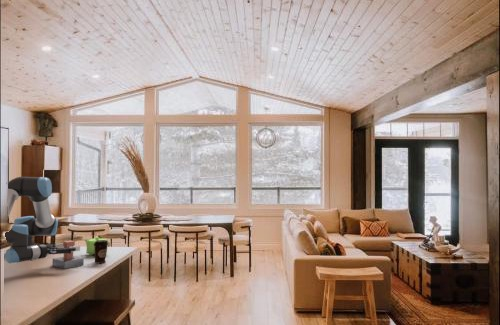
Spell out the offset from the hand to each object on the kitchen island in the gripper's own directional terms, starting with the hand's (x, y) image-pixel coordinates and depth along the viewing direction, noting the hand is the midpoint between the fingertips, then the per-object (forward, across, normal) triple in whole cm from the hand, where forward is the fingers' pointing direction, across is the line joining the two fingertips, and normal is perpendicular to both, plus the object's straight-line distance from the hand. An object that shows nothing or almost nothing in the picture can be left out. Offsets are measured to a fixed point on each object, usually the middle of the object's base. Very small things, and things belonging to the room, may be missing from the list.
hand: (72, 246), depth 235 cm
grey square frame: (-2, 0, -11) cm, 11 cm away
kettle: (+27, -14, -11) cm, 32 cm away
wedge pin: (-2, 0, -11) cm, 11 cm away
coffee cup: (+15, +7, -11) cm, 20 cm away
